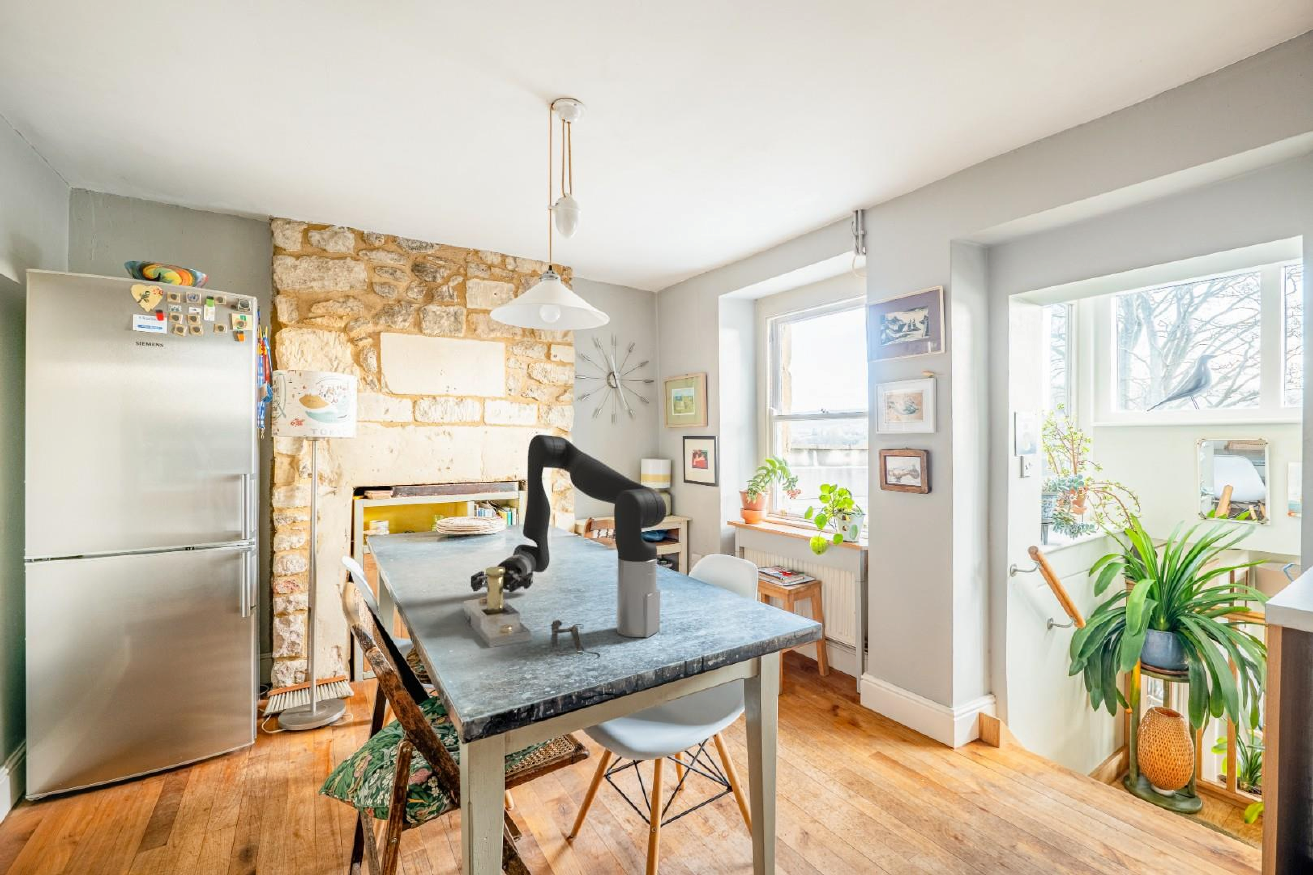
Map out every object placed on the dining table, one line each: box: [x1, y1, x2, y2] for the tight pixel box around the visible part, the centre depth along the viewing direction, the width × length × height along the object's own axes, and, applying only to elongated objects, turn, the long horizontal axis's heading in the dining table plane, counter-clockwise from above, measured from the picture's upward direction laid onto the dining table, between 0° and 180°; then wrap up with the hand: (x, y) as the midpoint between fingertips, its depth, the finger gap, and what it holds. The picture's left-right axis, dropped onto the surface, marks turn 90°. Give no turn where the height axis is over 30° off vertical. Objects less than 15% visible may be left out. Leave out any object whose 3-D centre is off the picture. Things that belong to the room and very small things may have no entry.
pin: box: [485, 566, 505, 616], centre depth 137 cm, size 4×4×14 cm
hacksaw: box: [551, 619, 601, 661], centre depth 130 cm, size 24×10×2 cm, turn 9°
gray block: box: [462, 596, 531, 648], centre depth 137 cm, size 24×9×5 cm, turn 32°
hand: (492, 587), depth 135 cm, fingers open, 8 cm apart
